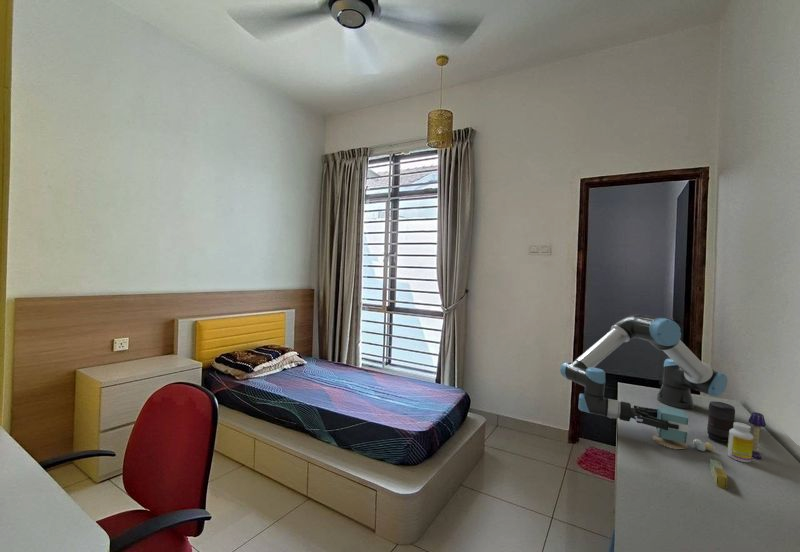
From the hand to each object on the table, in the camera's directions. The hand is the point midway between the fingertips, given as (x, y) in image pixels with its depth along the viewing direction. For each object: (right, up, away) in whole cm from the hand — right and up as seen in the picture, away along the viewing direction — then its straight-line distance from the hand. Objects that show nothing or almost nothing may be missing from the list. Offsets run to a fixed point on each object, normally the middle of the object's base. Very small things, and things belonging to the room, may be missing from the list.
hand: (686, 424), depth 141 cm
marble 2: (+4, -9, -3) cm, 10 cm away
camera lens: (+19, -10, +7) cm, 22 cm away
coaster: (-4, -8, +3) cm, 10 cm away
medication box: (-6, -10, -21) cm, 24 cm away
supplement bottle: (+14, -10, -7) cm, 19 cm away
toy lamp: (+22, -10, -5) cm, 25 cm away
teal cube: (-4, -6, +2) cm, 8 cm away
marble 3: (+7, -9, -2) cm, 12 cm away
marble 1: (+5, -9, 0) cm, 10 cm away
